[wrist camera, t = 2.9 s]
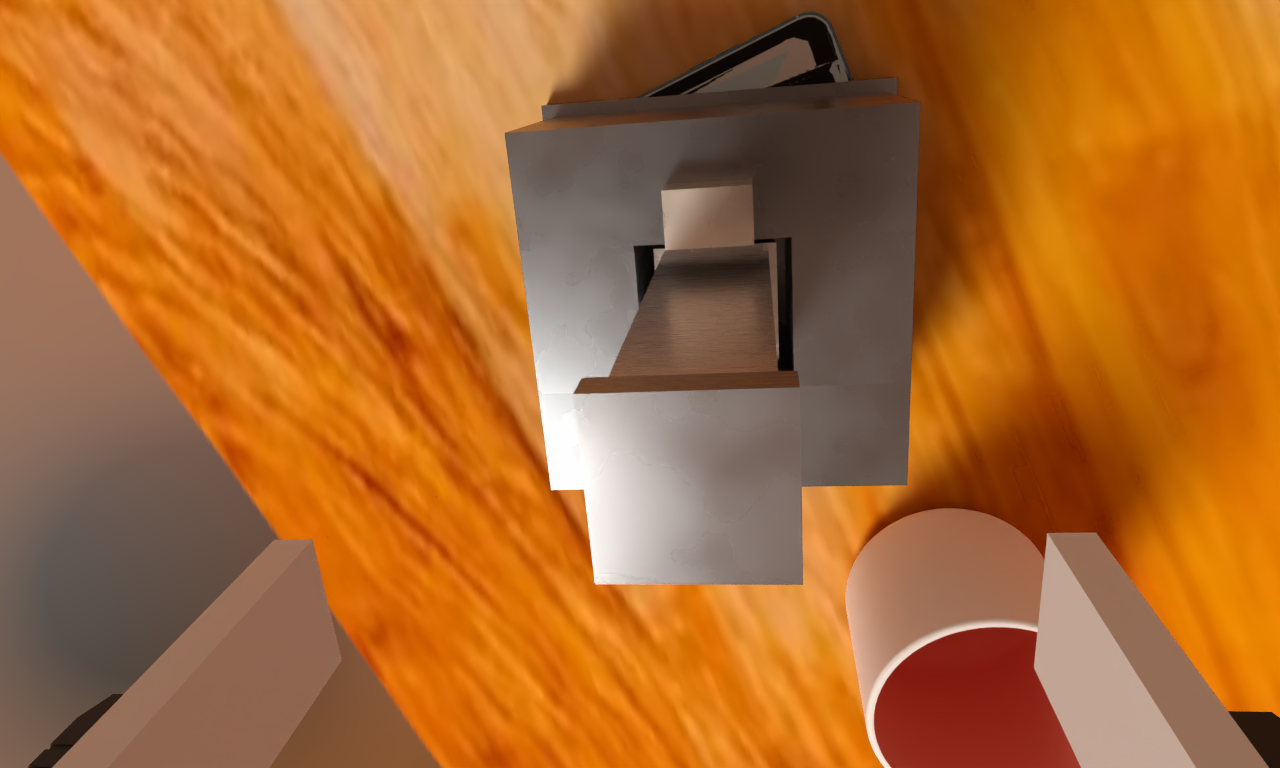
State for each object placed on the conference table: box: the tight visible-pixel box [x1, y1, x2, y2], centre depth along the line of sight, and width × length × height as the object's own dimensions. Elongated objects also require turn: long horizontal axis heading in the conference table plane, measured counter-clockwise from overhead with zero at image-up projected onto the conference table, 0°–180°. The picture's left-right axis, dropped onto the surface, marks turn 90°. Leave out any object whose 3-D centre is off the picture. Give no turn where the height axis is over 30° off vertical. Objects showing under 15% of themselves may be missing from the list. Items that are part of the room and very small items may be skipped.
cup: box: [846, 508, 1081, 768], centre depth 40 cm, size 10×10×10 cm
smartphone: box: [638, 12, 853, 98], centre depth 38 cm, size 7×1×15 cm
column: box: [573, 238, 803, 585], centre depth 29 cm, size 5×5×21 cm
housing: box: [505, 77, 920, 490], centre depth 35 cm, size 15×15×10 cm
